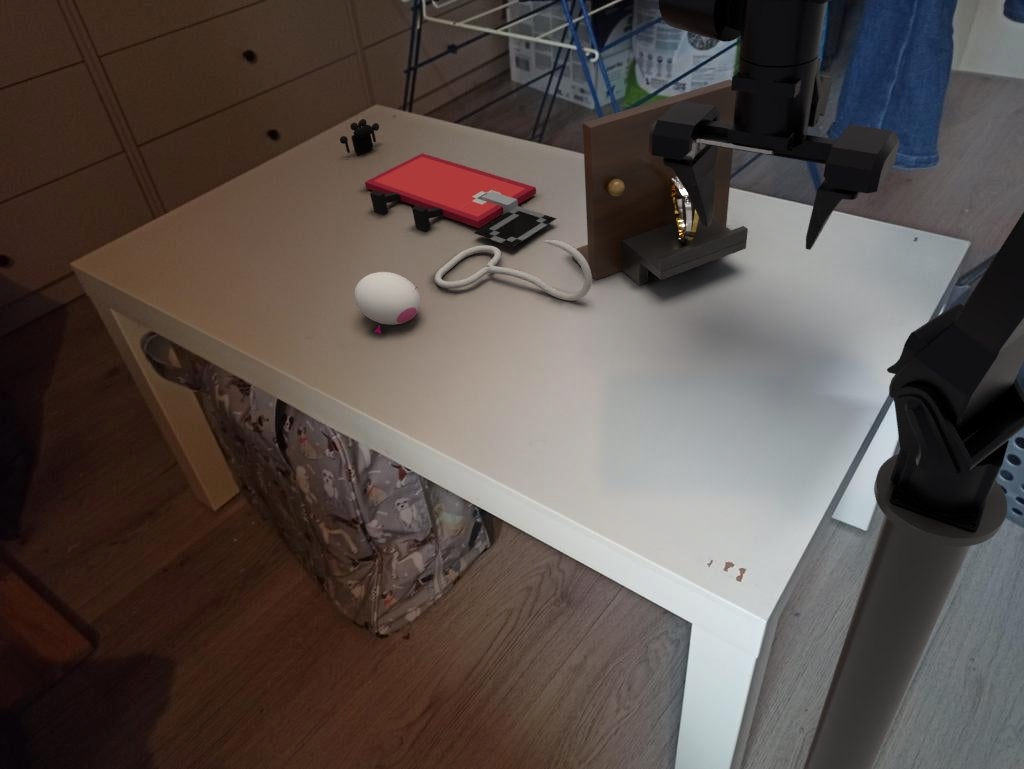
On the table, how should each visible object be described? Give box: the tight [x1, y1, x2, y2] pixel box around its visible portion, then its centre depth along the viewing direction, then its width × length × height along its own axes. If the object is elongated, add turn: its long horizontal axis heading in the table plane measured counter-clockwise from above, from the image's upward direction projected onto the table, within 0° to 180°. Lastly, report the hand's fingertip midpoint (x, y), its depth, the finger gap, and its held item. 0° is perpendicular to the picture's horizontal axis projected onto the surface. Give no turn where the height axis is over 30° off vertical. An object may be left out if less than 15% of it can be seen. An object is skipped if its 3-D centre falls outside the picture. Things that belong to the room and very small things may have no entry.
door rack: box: [571, 79, 749, 286], centre depth 86 cm, size 13×18×18 cm
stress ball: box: [354, 271, 421, 335], centre depth 87 cm, size 8×8×7 cm
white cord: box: [434, 239, 593, 301], centre depth 89 cm, size 7×9×20 cm
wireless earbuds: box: [339, 118, 380, 155], centre depth 122 cm, size 7×2×5 cm, turn 131°
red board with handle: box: [364, 152, 557, 248], centre depth 106 cm, size 30×3×15 cm
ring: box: [670, 176, 699, 243], centre depth 85 cm, size 7×3×8 cm, turn 0°
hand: (757, 235), depth 70 cm, fingers open, 9 cm apart
